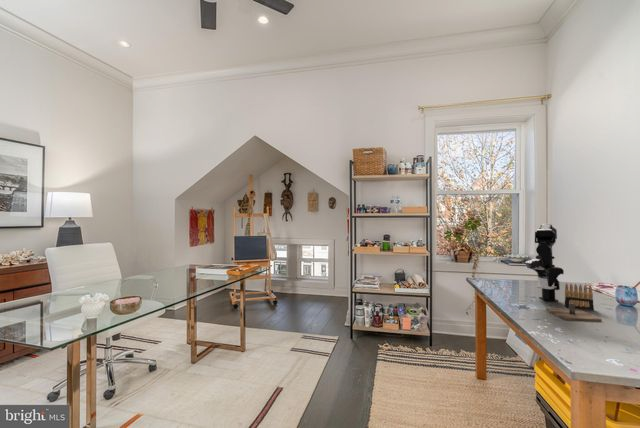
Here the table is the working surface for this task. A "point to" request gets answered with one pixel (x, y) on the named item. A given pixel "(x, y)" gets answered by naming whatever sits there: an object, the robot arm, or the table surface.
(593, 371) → the table surface
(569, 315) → the post base
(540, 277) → the tube
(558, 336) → the table surface
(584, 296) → the ammunition clip
